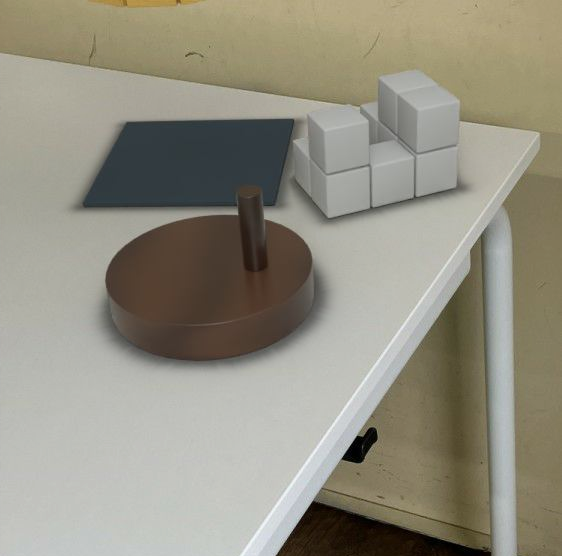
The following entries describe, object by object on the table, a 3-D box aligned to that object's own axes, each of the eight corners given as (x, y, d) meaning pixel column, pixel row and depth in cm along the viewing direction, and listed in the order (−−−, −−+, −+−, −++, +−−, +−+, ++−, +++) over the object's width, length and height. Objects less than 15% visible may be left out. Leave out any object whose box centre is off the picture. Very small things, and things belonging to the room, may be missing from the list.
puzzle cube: (397, 135, 96) (398, 53, 91) (457, 188, 87) (461, 100, 82) (279, 161, 93) (272, 78, 88) (328, 219, 84) (324, 130, 79)
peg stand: (89, 359, 71) (63, 248, 65) (136, 247, 82) (118, 145, 77) (304, 361, 69) (297, 247, 63) (322, 246, 80) (316, 142, 75)
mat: (83, 206, 89) (82, 202, 88) (127, 125, 102) (126, 121, 102) (274, 205, 86) (274, 201, 86) (294, 122, 100) (293, 118, 99)
